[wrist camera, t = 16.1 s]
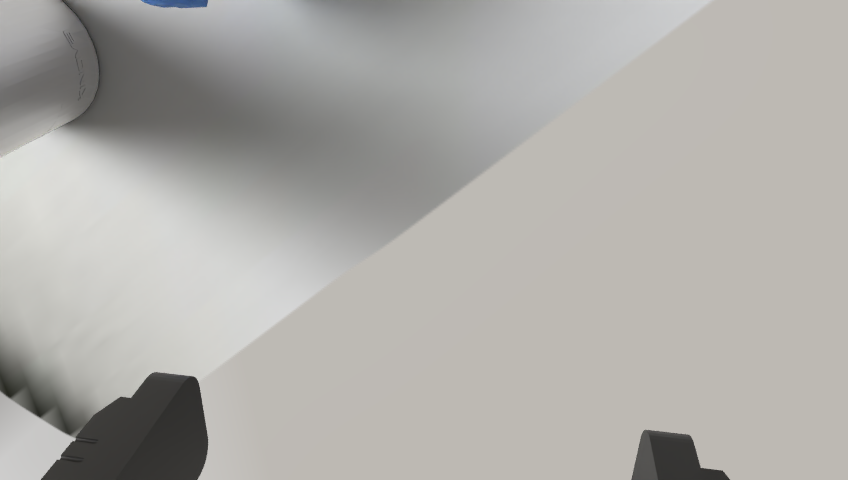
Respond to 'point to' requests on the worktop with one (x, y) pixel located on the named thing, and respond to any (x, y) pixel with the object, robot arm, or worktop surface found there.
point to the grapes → (177, 3)
